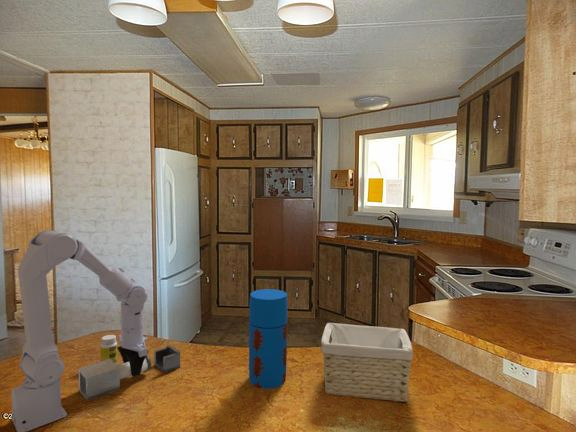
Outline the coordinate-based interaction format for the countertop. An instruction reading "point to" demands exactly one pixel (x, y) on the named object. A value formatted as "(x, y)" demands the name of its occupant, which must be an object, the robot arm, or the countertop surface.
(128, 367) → the tube
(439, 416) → the countertop surface
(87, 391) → the sleeve
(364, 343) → the storage basket
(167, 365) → the socket
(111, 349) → the supplement bottle
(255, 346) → the thermos
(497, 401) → the countertop surface
